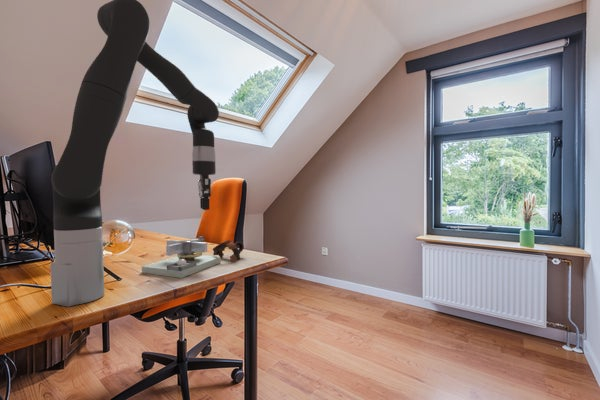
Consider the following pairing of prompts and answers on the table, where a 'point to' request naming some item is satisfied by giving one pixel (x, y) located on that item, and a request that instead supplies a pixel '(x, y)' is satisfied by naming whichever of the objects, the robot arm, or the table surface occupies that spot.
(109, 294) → the table surface
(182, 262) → the ball
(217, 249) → the gnarled brown arch
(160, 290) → the table surface
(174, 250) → the capstan
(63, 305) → the robot arm
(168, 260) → the stand
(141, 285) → the table surface
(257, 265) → the table surface
